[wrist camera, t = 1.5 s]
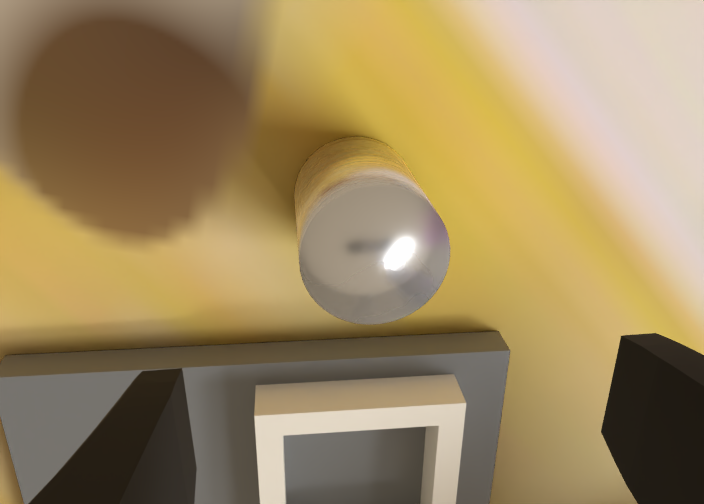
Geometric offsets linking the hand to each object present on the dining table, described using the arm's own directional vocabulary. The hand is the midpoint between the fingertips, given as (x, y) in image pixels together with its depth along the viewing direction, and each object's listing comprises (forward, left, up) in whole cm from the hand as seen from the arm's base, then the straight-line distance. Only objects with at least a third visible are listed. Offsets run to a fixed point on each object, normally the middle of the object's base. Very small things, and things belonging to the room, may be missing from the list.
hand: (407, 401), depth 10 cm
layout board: (+3, +12, -10) cm, 16 cm away
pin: (0, 0, -10) cm, 10 cm away
